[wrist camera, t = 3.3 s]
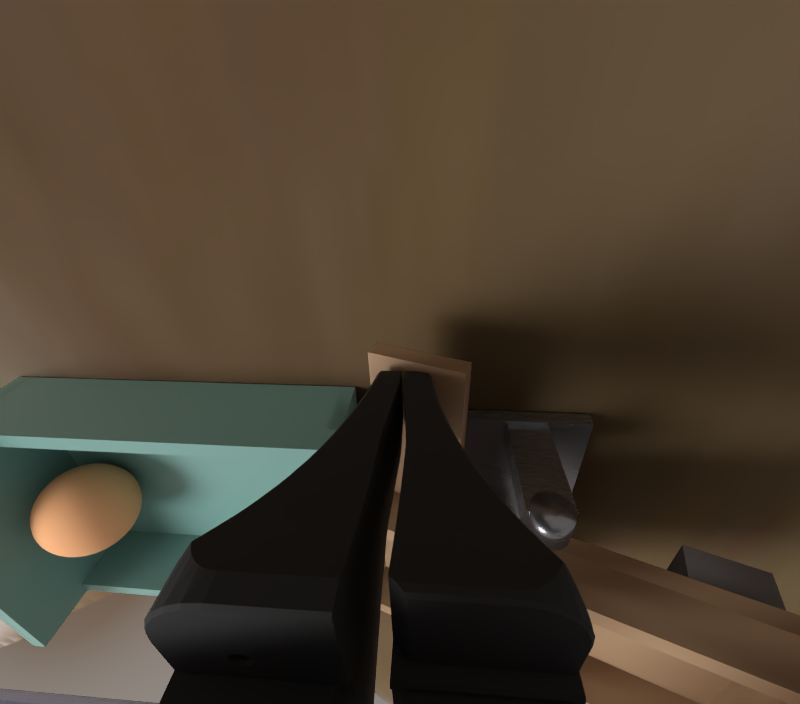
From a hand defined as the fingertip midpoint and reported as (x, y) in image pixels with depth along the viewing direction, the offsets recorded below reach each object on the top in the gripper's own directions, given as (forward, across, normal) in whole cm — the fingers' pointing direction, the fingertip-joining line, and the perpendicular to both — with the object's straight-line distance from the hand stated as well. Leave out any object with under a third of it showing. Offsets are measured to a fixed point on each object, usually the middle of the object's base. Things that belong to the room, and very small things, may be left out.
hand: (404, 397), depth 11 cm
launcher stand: (+3, -5, +8) cm, 10 cm away
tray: (+3, +10, +8) cm, 13 cm away
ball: (+1, +15, +8) cm, 17 cm away
